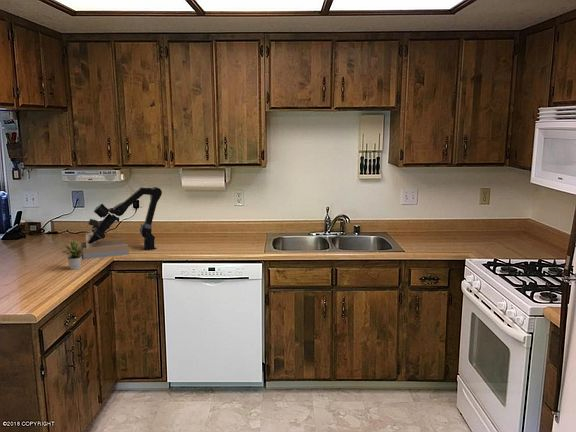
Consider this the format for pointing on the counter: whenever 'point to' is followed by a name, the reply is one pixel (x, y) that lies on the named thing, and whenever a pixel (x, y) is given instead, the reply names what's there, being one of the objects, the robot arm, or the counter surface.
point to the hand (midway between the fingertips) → (88, 242)
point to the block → (88, 237)
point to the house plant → (74, 256)
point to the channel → (105, 249)
